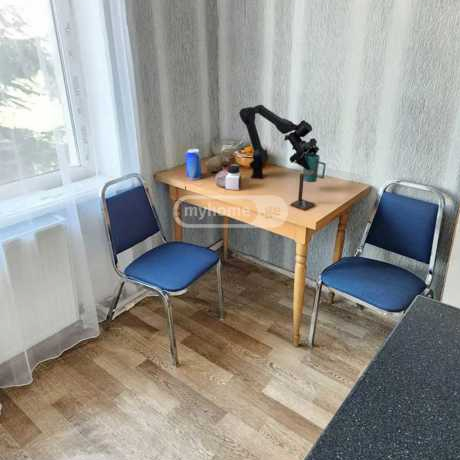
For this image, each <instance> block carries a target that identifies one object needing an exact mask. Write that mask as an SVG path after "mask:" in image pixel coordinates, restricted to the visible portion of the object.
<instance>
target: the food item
mask: <svg viewBox="0 0 460 460" xmlns="http://www.w3.org/2000/svg"><path fill="white" fill-rule="evenodd" d="M221 169H222V170H219V171H217V173H216V175H215V185H216V186H218V187H220V188H223V189H226V176H227V175H228V166H225V167H224V166H223V167H222V168H221Z"/></svg>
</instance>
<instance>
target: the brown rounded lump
mask: <svg viewBox="0 0 460 460" xmlns="http://www.w3.org/2000/svg"><path fill="white" fill-rule="evenodd" d="M229 162H230V159H229V158H228V157H226V156H225V155H223V154H219V155H215V156H212V157H210V158H208V159H207V161H205V163H204V166H205V168H206V169H207V170H208V171H209V172H211V173H215V172H217V173H218V172H219V171H221V169H222V167H224V166H228V164H229Z"/></svg>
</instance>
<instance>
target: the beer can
mask: <svg viewBox="0 0 460 460" xmlns="http://www.w3.org/2000/svg"><path fill="white" fill-rule="evenodd" d="M185 165H186V166H185V168H186V177H187V178H188V179H187V180H191V181H198V180H200V179H201V177H202V176H203V171H202V170H203V169H202V153H201V152H200V149H199V148H190V149H187V150H186V154H185Z"/></svg>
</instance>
